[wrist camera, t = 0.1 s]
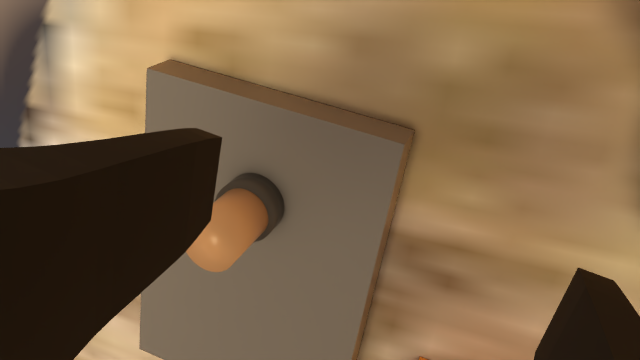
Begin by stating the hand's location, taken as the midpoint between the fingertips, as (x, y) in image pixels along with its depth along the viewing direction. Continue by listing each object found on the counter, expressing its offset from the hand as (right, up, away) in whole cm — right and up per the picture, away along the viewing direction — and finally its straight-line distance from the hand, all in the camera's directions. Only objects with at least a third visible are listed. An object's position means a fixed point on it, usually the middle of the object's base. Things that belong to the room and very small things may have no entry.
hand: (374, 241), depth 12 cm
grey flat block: (-3, -2, +14) cm, 14 cm away
